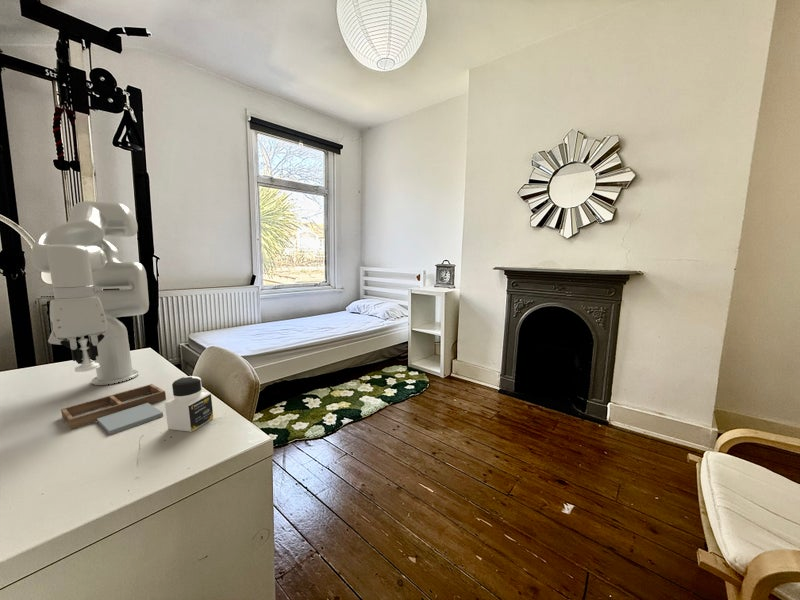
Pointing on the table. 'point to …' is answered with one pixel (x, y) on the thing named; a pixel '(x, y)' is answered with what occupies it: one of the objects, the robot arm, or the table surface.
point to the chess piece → (85, 357)
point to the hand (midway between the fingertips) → (86, 360)
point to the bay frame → (110, 400)
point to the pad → (129, 418)
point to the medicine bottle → (188, 405)
